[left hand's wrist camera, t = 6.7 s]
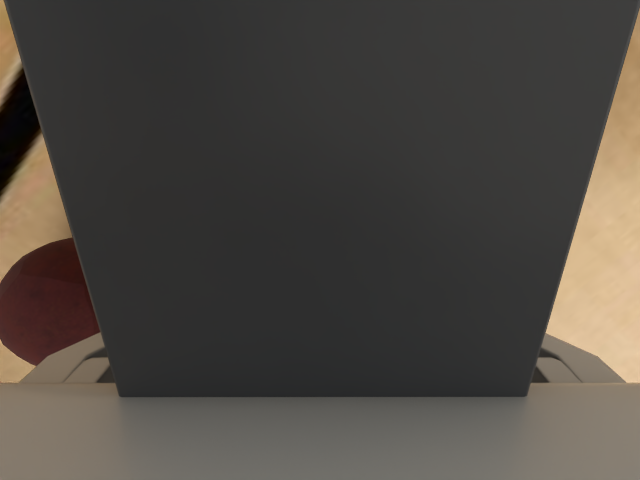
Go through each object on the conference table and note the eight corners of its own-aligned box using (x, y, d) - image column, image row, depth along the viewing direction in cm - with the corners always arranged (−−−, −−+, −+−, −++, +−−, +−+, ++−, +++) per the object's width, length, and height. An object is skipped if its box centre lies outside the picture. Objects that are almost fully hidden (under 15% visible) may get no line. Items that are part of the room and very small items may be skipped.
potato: (172, 235, 22) (108, 290, 15) (163, 332, 24) (105, 414, 18) (53, 208, 21) (-68, 254, 15) (57, 311, 24) (-42, 388, 17)
